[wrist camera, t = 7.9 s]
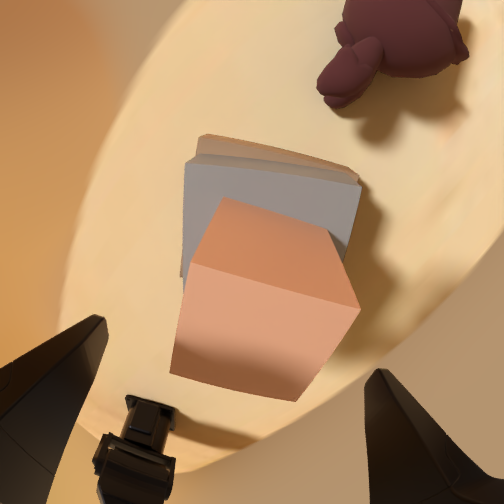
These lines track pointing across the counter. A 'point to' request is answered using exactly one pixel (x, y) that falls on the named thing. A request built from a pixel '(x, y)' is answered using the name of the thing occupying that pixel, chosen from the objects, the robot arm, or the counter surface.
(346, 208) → the tower top
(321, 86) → the maroon plush toy
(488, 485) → the robot arm
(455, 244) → the counter surface
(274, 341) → the block
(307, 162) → the tower bottom
